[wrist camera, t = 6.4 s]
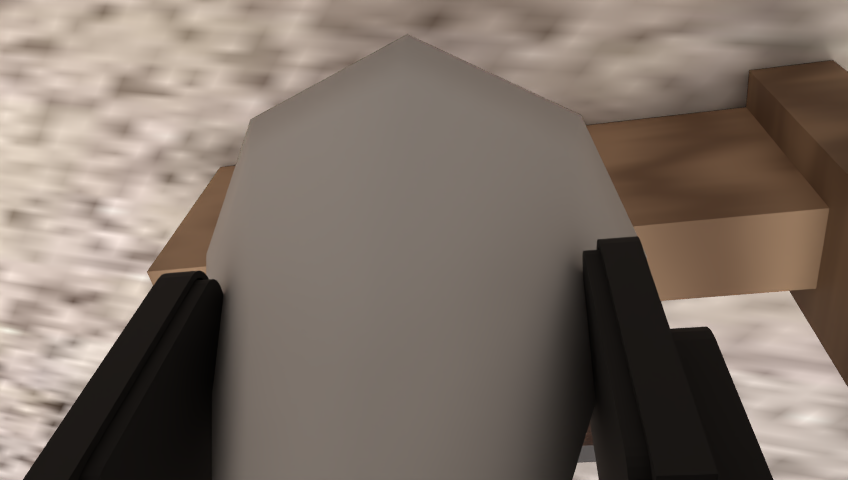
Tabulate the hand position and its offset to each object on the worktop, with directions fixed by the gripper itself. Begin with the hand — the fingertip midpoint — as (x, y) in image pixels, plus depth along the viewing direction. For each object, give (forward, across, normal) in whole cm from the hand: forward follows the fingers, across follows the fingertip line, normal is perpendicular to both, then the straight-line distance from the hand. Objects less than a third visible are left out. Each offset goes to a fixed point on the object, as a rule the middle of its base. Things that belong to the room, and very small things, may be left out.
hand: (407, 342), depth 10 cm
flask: (+3, 0, 0) cm, 3 cm away
